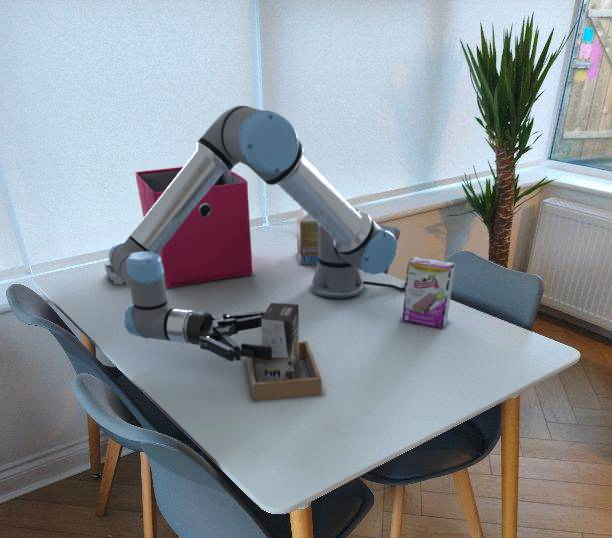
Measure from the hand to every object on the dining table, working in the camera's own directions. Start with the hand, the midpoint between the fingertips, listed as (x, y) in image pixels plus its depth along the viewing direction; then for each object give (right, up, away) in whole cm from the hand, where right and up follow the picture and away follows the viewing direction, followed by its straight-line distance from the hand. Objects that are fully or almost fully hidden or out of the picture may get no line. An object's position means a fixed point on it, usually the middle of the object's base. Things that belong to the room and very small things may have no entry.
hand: (281, 339), depth 131 cm
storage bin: (-29, +29, +64) cm, 76 cm away
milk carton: (+8, +34, +71) cm, 79 cm away
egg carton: (-52, +24, +56) cm, 80 cm away
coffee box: (0, -8, +5) cm, 10 cm away
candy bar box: (+37, +7, +29) cm, 47 cm away
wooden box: (0, -8, +5) cm, 10 cm away
